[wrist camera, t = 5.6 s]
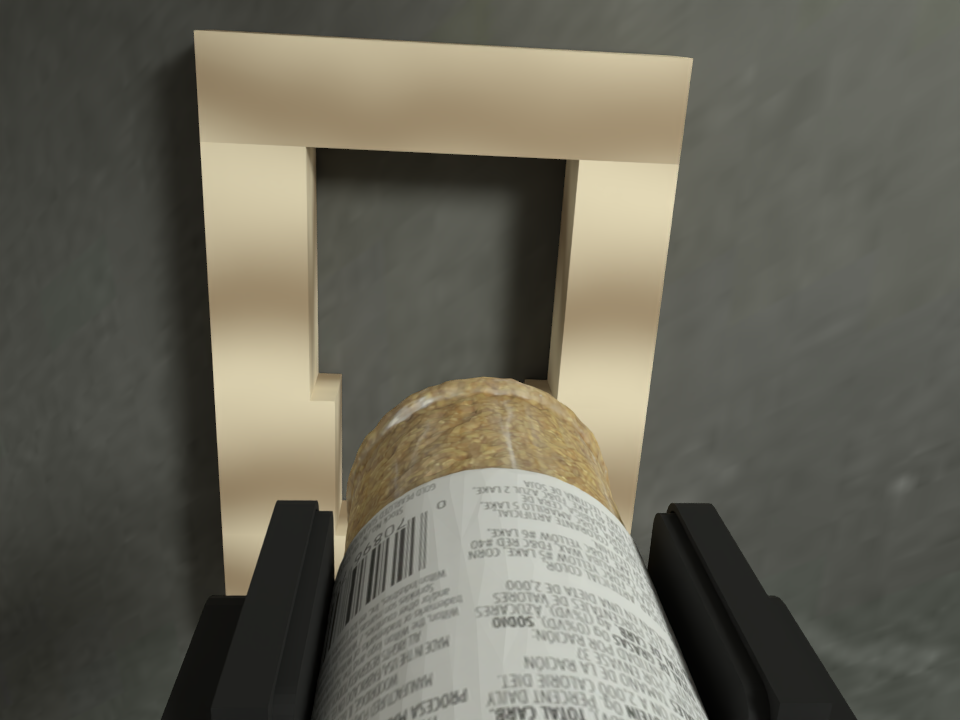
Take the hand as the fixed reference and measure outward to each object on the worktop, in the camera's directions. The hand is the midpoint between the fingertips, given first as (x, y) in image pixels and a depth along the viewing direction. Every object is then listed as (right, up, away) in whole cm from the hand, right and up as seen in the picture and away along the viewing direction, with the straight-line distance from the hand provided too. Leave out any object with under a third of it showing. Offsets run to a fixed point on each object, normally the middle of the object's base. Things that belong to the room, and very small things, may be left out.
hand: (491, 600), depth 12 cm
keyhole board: (-2, +4, +18) cm, 19 cm away
